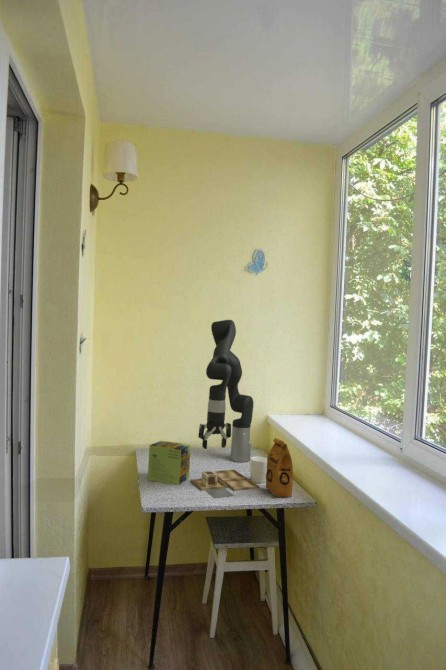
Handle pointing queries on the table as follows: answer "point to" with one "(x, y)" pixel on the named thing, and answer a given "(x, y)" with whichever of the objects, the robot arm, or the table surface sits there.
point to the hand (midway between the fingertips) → (214, 448)
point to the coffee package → (279, 470)
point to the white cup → (258, 469)
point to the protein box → (169, 462)
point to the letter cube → (209, 478)
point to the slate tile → (219, 493)
